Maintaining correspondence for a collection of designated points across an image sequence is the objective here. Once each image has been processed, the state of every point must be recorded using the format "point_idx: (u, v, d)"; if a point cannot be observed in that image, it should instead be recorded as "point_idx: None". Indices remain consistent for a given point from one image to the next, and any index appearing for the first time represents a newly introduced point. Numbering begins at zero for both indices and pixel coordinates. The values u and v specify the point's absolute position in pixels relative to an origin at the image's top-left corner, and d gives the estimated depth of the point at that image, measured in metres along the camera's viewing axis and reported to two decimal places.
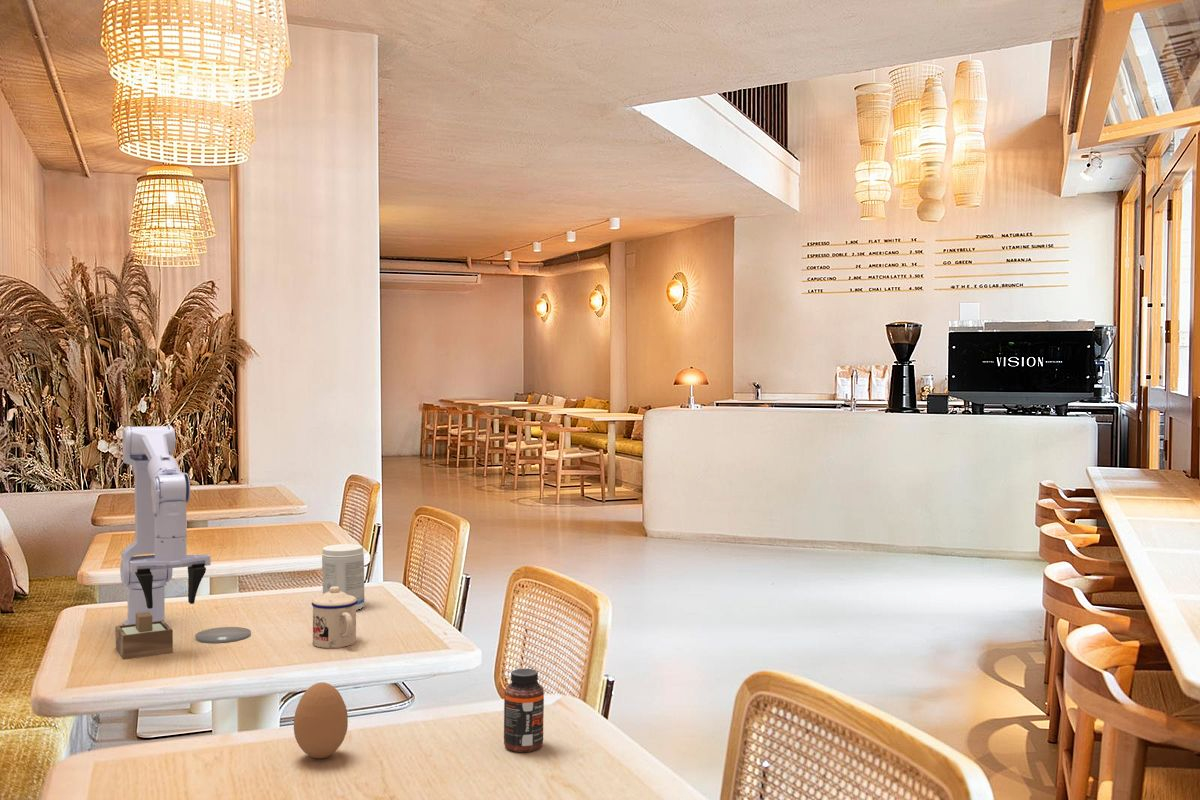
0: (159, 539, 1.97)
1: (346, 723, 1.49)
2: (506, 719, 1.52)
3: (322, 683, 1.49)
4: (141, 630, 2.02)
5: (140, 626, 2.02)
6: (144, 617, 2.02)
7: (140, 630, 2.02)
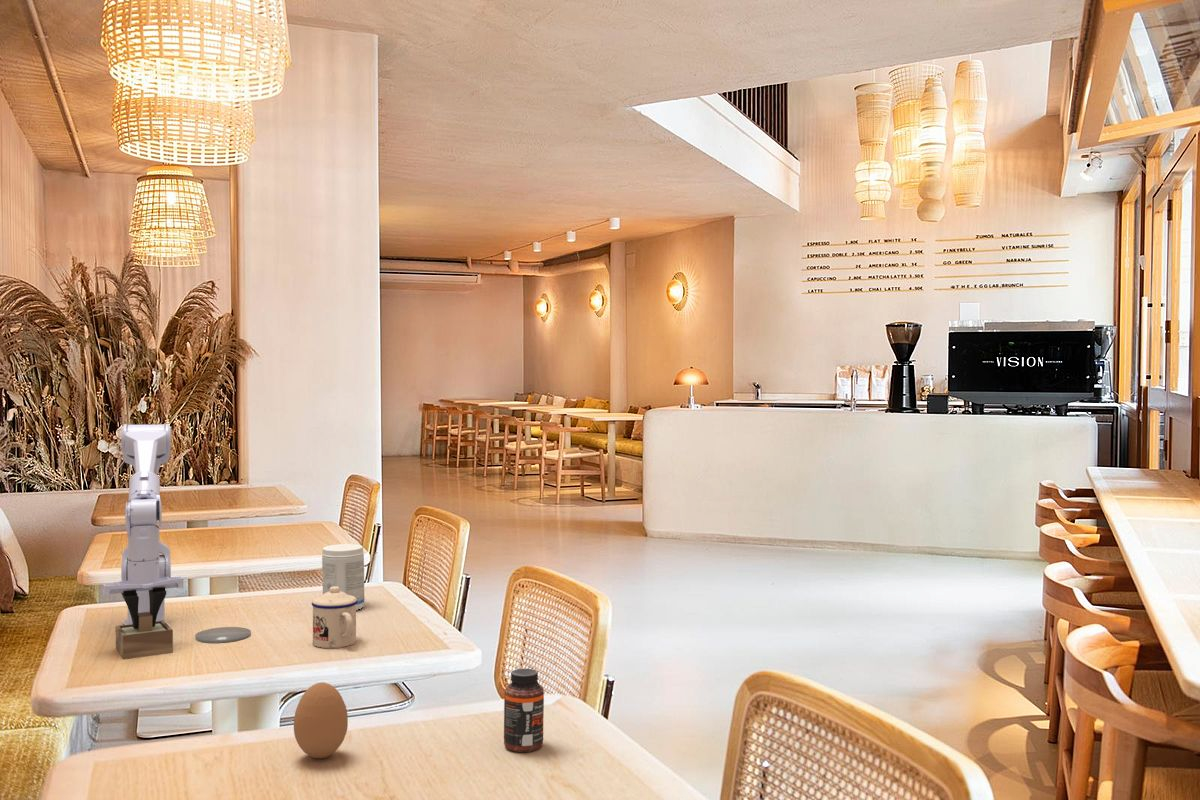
0: (132, 562, 2.01)
1: (346, 723, 1.49)
2: (506, 719, 1.52)
3: (322, 683, 1.49)
4: (141, 630, 2.02)
5: (140, 626, 2.02)
6: (144, 617, 2.02)
7: (140, 630, 2.02)
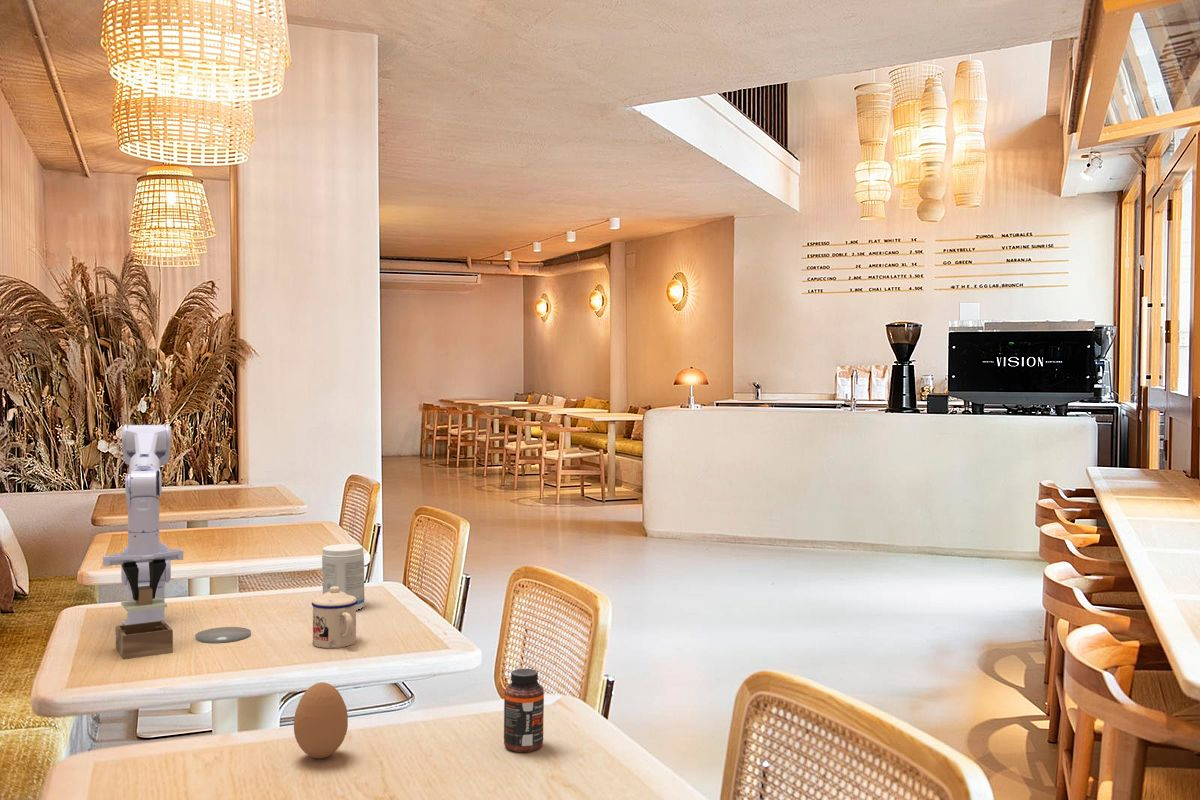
0: (132, 534, 2.01)
1: (346, 723, 1.49)
2: (506, 719, 1.52)
3: (322, 683, 1.49)
4: (141, 603, 2.02)
5: (140, 599, 2.02)
6: (144, 590, 2.02)
7: (140, 603, 2.02)
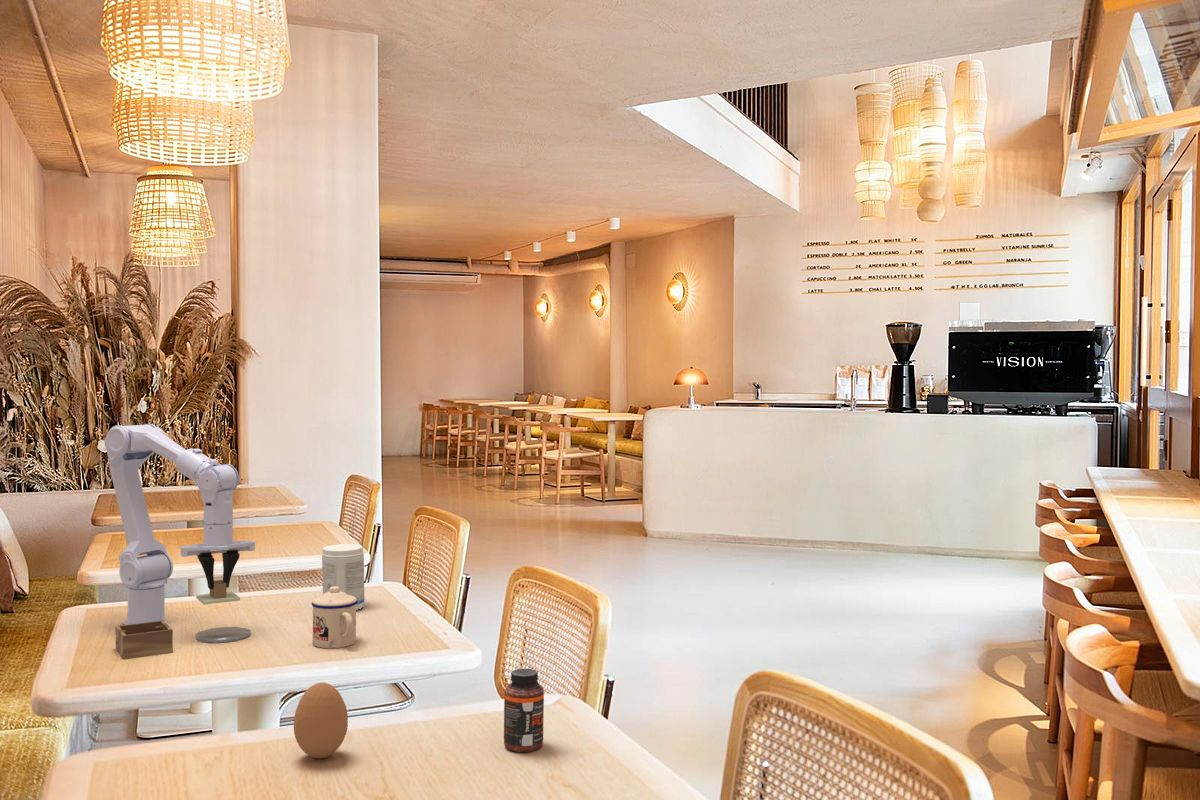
0: (208, 526, 2.12)
1: (346, 723, 1.49)
2: (506, 719, 1.52)
3: (322, 683, 1.49)
4: (216, 597, 2.13)
5: (215, 593, 2.13)
6: (219, 584, 2.13)
7: (215, 597, 2.13)
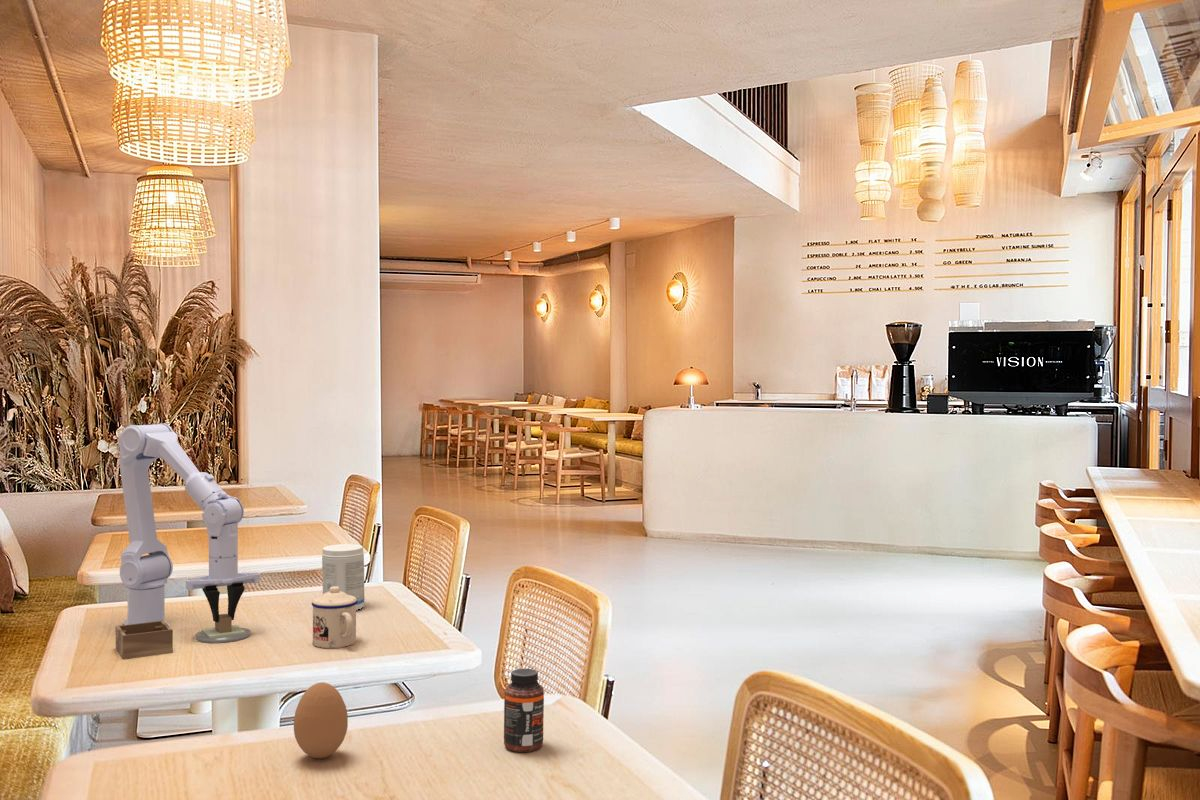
0: (213, 559, 2.13)
1: (346, 723, 1.49)
2: (506, 719, 1.52)
3: (322, 683, 1.49)
4: (221, 631, 2.14)
5: (220, 627, 2.14)
6: (224, 619, 2.14)
7: (220, 631, 2.14)
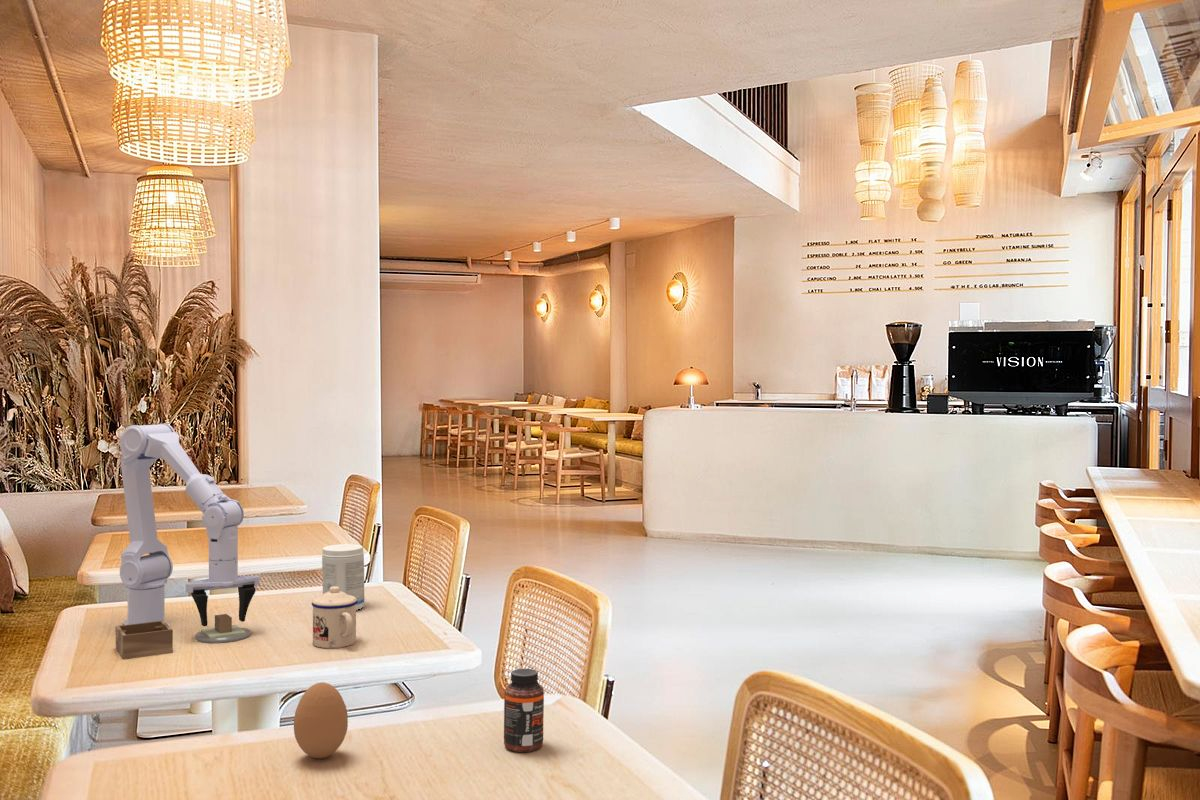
0: (213, 562, 2.13)
1: (346, 723, 1.49)
2: (506, 719, 1.52)
3: (322, 683, 1.49)
4: (221, 631, 2.14)
5: (221, 627, 2.14)
6: (224, 619, 2.14)
7: (221, 631, 2.14)
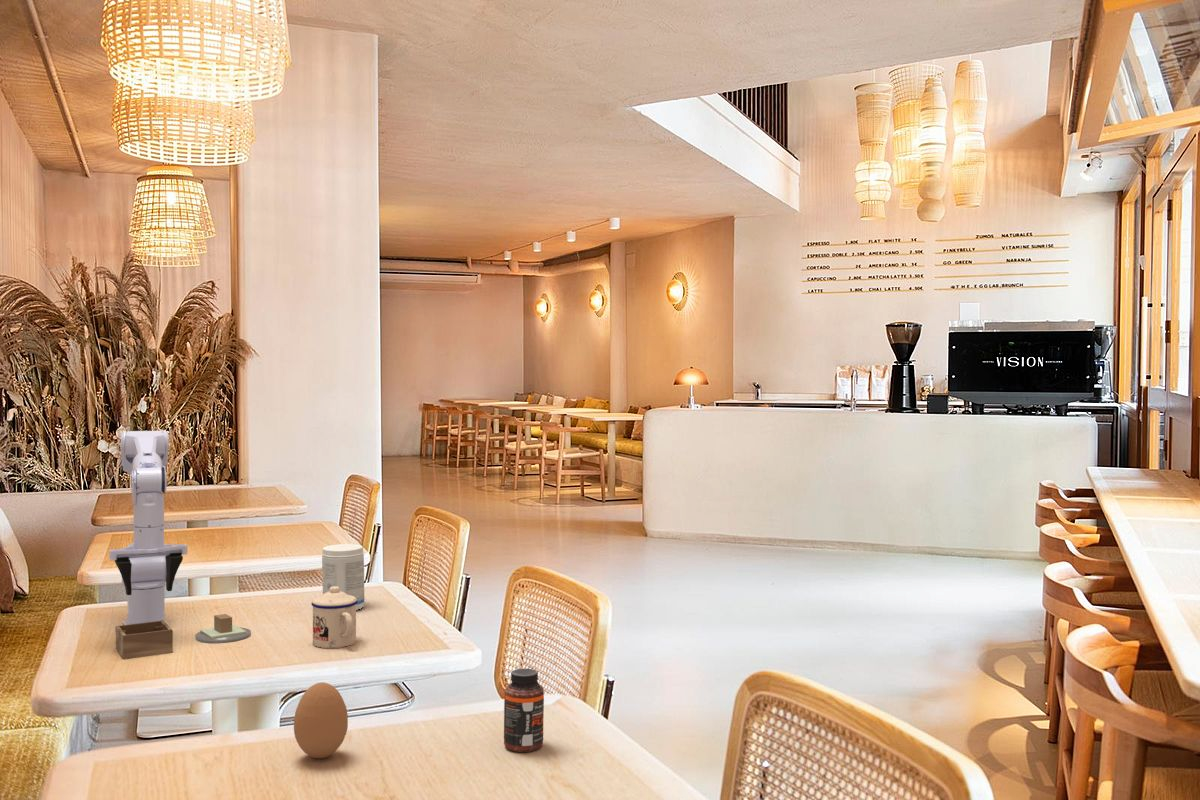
0: (137, 529, 2.07)
1: (346, 723, 1.49)
2: (506, 719, 1.52)
3: (322, 683, 1.49)
4: (222, 631, 2.14)
5: (221, 627, 2.14)
6: (225, 619, 2.14)
7: (221, 631, 2.14)
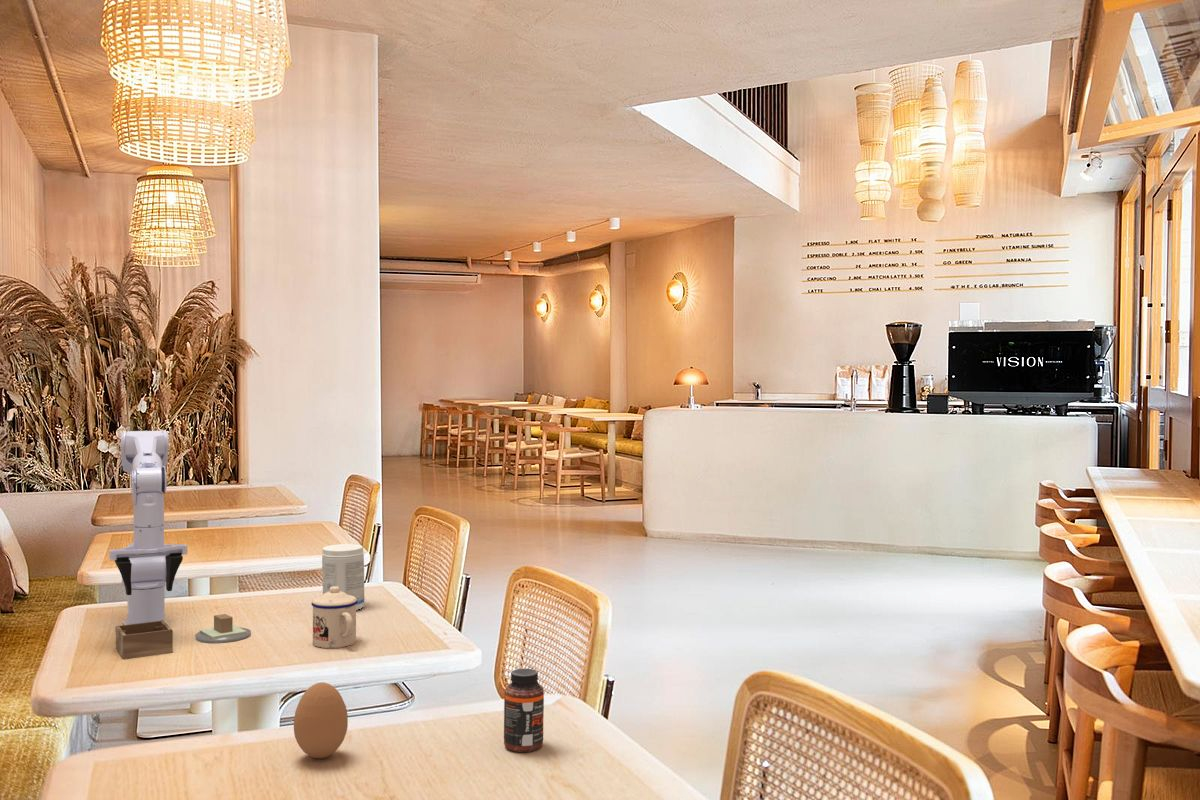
0: (137, 529, 2.07)
1: (346, 723, 1.49)
2: (506, 719, 1.52)
3: (322, 683, 1.49)
4: (223, 631, 2.14)
5: (222, 627, 2.14)
6: (225, 619, 2.14)
7: (222, 631, 2.14)
